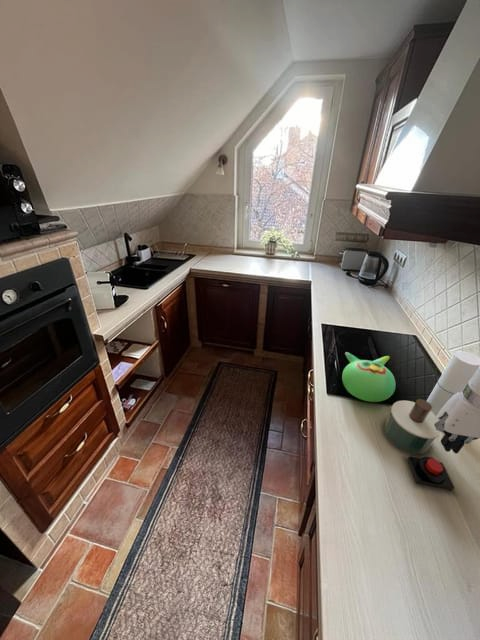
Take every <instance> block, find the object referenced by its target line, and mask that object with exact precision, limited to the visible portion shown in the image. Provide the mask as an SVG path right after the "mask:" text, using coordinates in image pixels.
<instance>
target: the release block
mask: <svg viewBox="0 0 480 640" xmlns="http://www.w3.org/2000/svg"><path fill="white" fill-rule="evenodd" d="M428 459H435V458H434V457H432V456H427V455H424V456H421V457H415V456H411V455H409V456H407V458H406V462H407V464H408V467H409V469H410V472H411V475H412V477H413V480H414V483H415V485H416V484H417V485H421V486H426V487H431V488H435V489H440V490H443V491H450V492H452V491H453V490H454V489H455V486H454V483H453V482H452V480H451V477H450V475H449V474H448V471H447V469H446V467H445V465H444V463H443V462H441V461H439V460H437V461H438V462H439V463H440V464H441V465H442V467H443V470H442V472H441V473H440V474H439V475H434V474H432V473H430V472H429V471H428V470H427V469H426V467H425V463H426V462H427V460H428Z"/></svg>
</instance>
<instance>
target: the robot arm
mask: <svg viewBox="0 0 480 640" xmlns="http://www.w3.org/2000/svg"><path fill="white" fill-rule="evenodd" d="M437 418H438V419H441V420H439V421H438V422H436V423H435V424H434V427H435V428H436V430H438V431H440V432H442V433H443V434H444V435H442V438H440V444H441V445H442V446H443V449H444V451H445V452H448V453H449V452H451V450H452V452H453V453H454V454H459V452H460V451H461V449H462V448H463V447H464V446H465V445H469V444H470V443H472V441H475V440H480V366H479V368H478V369H477V371H476V372H475V374H474V375H473V377H472V378H471V380H470V381H469V383H468V384H467V386H466V387H465V389H464V390H463V392H458V393H456V394H455V395H454V396H452V397H451V398H450V399H449V400H448V401H447V402H446V404H445V405H444V406H443V407H442V408H441V410H440V411H439V413H438V414H437Z"/></svg>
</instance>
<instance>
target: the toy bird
mask: <svg viewBox="0 0 480 640" xmlns="http://www.w3.org/2000/svg"><path fill="white" fill-rule="evenodd" d="M344 355H345V357H346V359H347V361H348V362H349V363H348V364H346V366H345V367H344V368H343V371H342V374H341V380H342V385H343V387H344V388H345V390H346V391H347V393H349V394H350V395H352V396H353V397H354V398H356V399H358V400H361V401H364V402H369V403H379V402H380V403H381V402H383V401H386V400H388V399H390V398H391V396H393V395H394V393H395V391H396V387H397V386H396V384H397V383H396V378H395V376H394V374H393V373H392V372H391V371H390V369H389V368H387V367H386V366H385V365H386V363H387V362H388V361H389V360H390V358H391V357H390V355H385V356H381V357H379V358H377V359H374V360H368V359H359V358H358V357H357V356H355V355H353V354H352V353H350V352H348V351H345V353H344Z"/></svg>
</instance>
